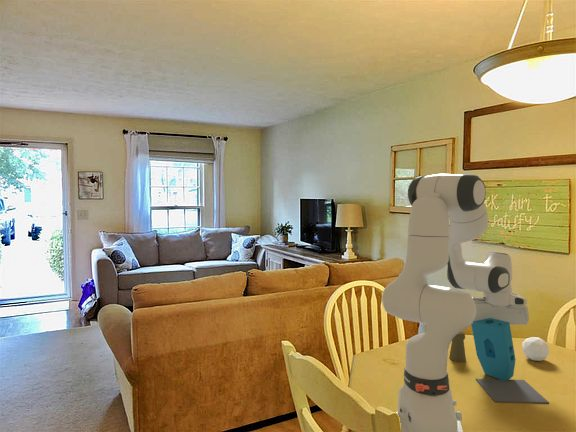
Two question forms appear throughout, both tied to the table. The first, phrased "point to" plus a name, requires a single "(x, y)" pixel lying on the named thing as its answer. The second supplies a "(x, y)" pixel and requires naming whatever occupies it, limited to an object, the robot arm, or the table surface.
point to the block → (494, 347)
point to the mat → (511, 391)
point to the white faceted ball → (535, 348)
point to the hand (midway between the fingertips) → (496, 336)
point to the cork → (458, 348)
